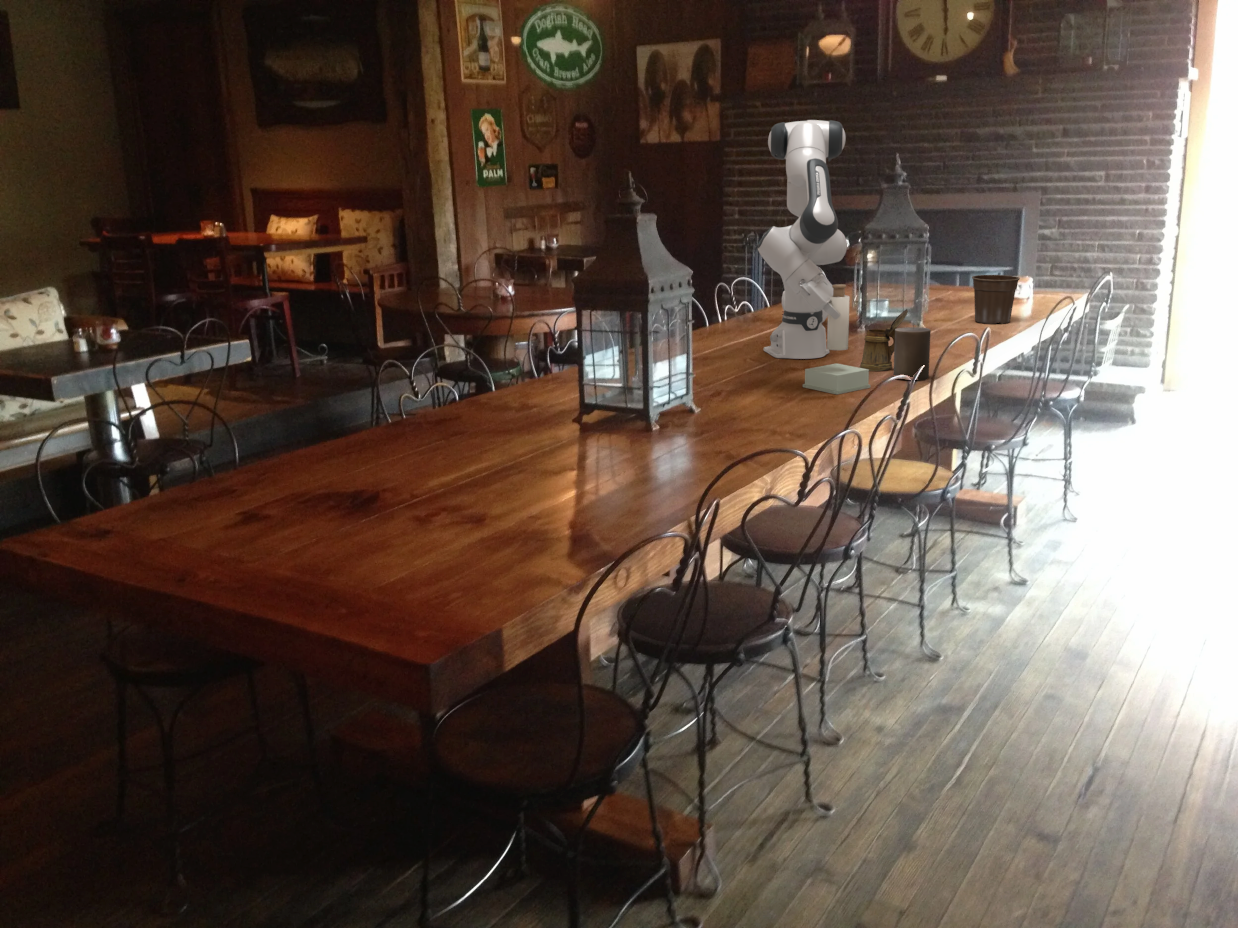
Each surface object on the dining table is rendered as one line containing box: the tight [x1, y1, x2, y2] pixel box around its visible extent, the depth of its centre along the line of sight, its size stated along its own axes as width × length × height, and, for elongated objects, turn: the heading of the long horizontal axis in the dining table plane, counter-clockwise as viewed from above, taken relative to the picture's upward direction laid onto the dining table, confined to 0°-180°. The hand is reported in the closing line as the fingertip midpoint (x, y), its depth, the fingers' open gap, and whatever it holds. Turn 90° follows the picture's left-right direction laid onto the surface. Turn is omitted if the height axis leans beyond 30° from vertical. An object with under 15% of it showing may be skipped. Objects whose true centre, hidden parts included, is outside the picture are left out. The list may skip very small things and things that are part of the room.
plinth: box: [802, 362, 871, 395], centre depth 305 cm, size 13×13×5 cm
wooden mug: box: [859, 308, 909, 372], centre depth 326 cm, size 9×14×18 cm, turn 54°
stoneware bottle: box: [826, 283, 850, 351], centre depth 300 cm, size 6×6×17 cm
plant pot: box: [971, 274, 1021, 325], centre depth 403 cm, size 16×16×16 cm
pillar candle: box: [893, 324, 931, 381], centre depth 314 cm, size 10×10×15 cm
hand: (840, 315), depth 300 cm, fingers closed on stoneware bottle, 6 cm apart
